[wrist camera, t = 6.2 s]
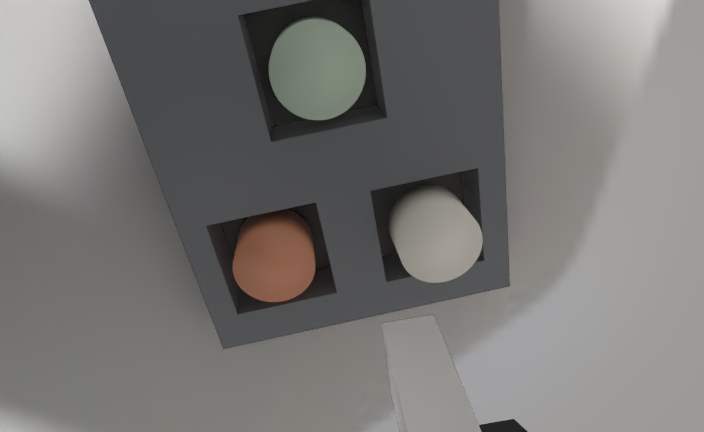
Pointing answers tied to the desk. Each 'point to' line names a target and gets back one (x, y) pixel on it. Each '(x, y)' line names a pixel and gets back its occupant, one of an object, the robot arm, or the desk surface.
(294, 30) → the sage button
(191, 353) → the desk surface
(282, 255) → the rust button
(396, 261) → the panel
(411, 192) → the cream button
